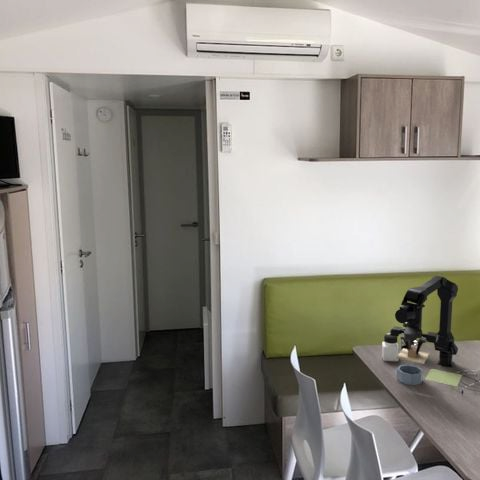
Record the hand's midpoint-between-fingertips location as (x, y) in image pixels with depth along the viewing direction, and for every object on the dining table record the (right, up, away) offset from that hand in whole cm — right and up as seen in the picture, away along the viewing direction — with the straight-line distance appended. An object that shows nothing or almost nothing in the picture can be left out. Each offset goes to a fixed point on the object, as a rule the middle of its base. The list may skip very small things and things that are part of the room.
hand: (413, 353), depth 204 cm
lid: (0, -2, 0) cm, 2 cm away
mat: (+15, -12, +4) cm, 19 cm away
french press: (+10, -8, +31) cm, 33 cm away
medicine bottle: (-2, -9, +26) cm, 28 cm away
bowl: (-1, -12, +2) cm, 12 cm away
